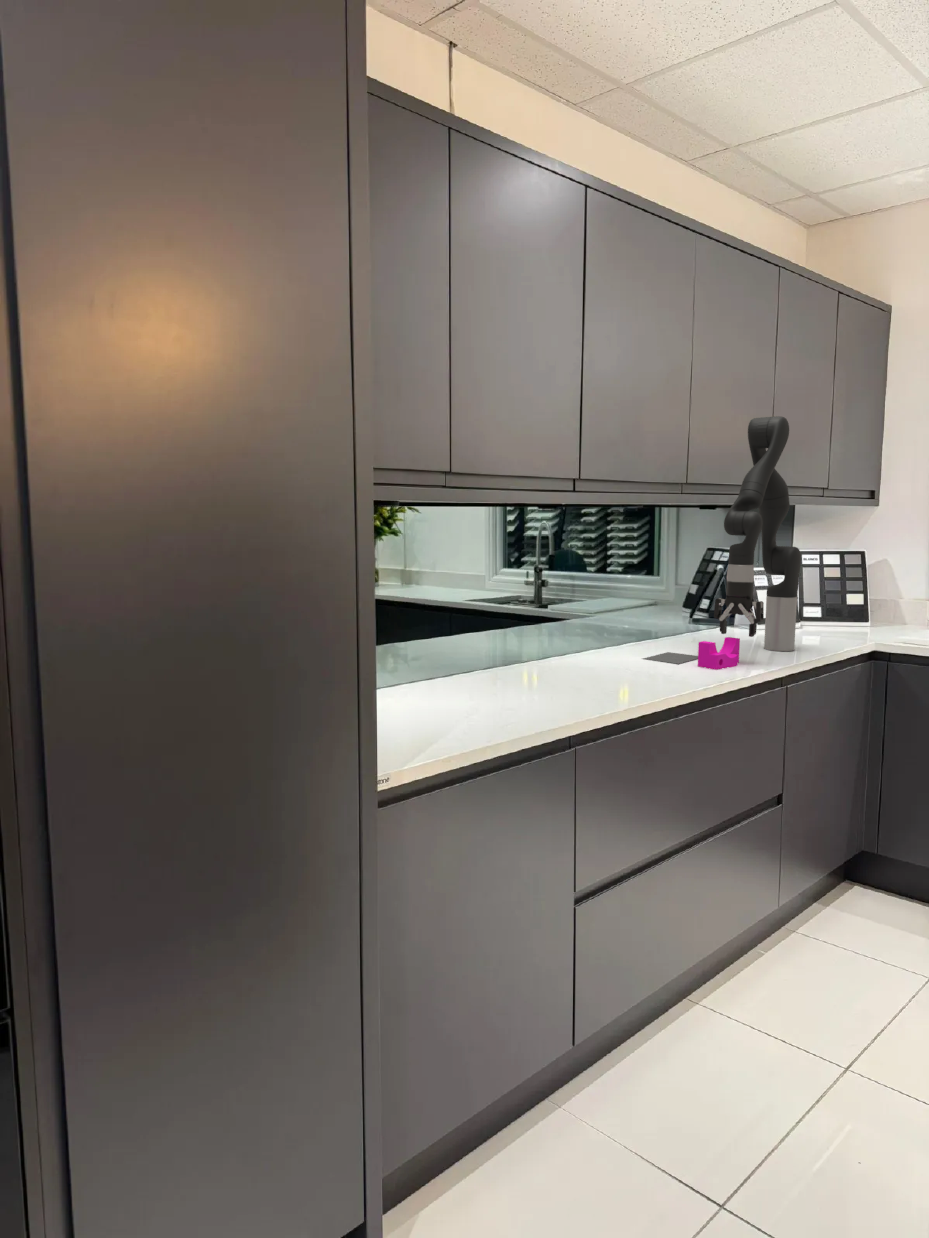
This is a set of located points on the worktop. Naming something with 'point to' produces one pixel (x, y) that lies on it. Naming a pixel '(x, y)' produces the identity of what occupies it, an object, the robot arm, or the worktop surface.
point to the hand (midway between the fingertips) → (737, 635)
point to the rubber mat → (672, 658)
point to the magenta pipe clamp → (719, 654)
